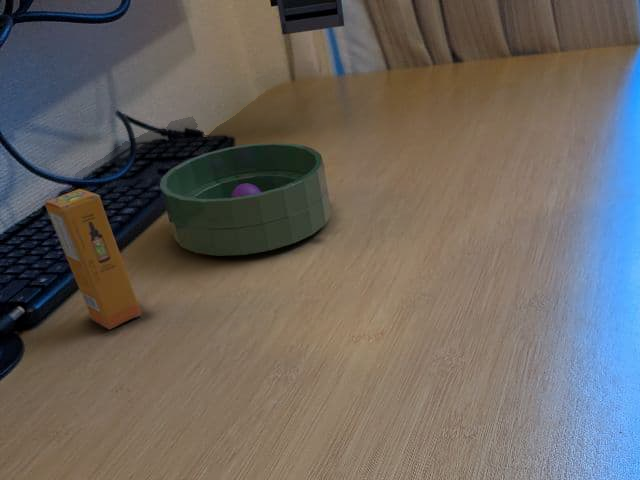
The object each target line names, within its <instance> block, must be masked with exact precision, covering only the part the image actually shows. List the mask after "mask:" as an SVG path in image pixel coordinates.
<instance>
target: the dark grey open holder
mask: <svg viewBox="0 0 640 480" xmlns="http://www.w3.org/2000/svg"><path fill="white" fill-rule="evenodd" d="M276 9H277V15H278V21H279V25H280V26H279V27H280V30H281V34H282V35H283V36H284V35H290V34H291V35H292V34H297V33H305V32H311V31H318V30H319V31H320V30H325V29H332V28H340V27H345V19H344V11H343V2H342V0H277V6H276Z"/></svg>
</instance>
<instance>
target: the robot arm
mask: <svg viewBox="0 0 640 480" xmlns="http://www.w3.org/2000/svg"><path fill="white" fill-rule="evenodd" d="M269 2H270V7H277V0H269Z"/></svg>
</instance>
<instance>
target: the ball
mask: <svg viewBox="0 0 640 480" xmlns="http://www.w3.org/2000/svg"><path fill="white" fill-rule="evenodd" d="M258 193H262V192H261V191H260V190H259V189H258V188H257V187H256V186H254V185H252V184H248V183H245V184H241V185H239V186H237V187H236V188H235V189H234V190H233V192H232V195H231V198H234V197H241V196H247V195H254V194H258Z"/></svg>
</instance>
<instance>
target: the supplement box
mask: <svg viewBox="0 0 640 480" xmlns="http://www.w3.org/2000/svg"><path fill="white" fill-rule="evenodd" d="M44 206H45V208H46V212H47V214H48V216H49V219H50V221H51V223H52V226H53V228H54V230H55V233H56V236H57V238H58V241H59V243H60V245H61V248H62V250H63V252H64V255H65V257H66V260H67V262H68V265H69V268H70V270H71V272H72V275H73V277H74V279H75V282H76V284H77V287H78V289H79V292H80V295H81V297H82V299H83V301H84V303H85V305H86V308H87V311H88V313H89V315H90V318H91V320H92V321H93V322H95V323H97V324H98V325H101V326H102V327H103V328H106V329H108V330H112V329H114V328H116V327H118V326H120V325H122V324H123V323H126V322H128V321H130V320H133V319H135V318H138V317H140V316H142V310H141V308H140V306H139V303H138V299H137V297H136V294H135V292H134V288H133V286H132V283H131V280H130V277H129V275H128V271H127V269H126V267H125V263H124V261H123V258H122V255H121V253H120V249H119V247H118V244H117V241H116V238H115V236H114V232H113V230H112V227H111V225H110V222H109V220H108V216H107V214H106V211H105V207H104V205H103V203H102V199H101V196H100V194H97V193H94V192H91V191H88V190H85V189H82V188H78V189H75V190H72V191H70V192H67V193H65V194H62V195H59V196H57V197H54V198H51V199H49V200H46V201H44Z"/></svg>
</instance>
